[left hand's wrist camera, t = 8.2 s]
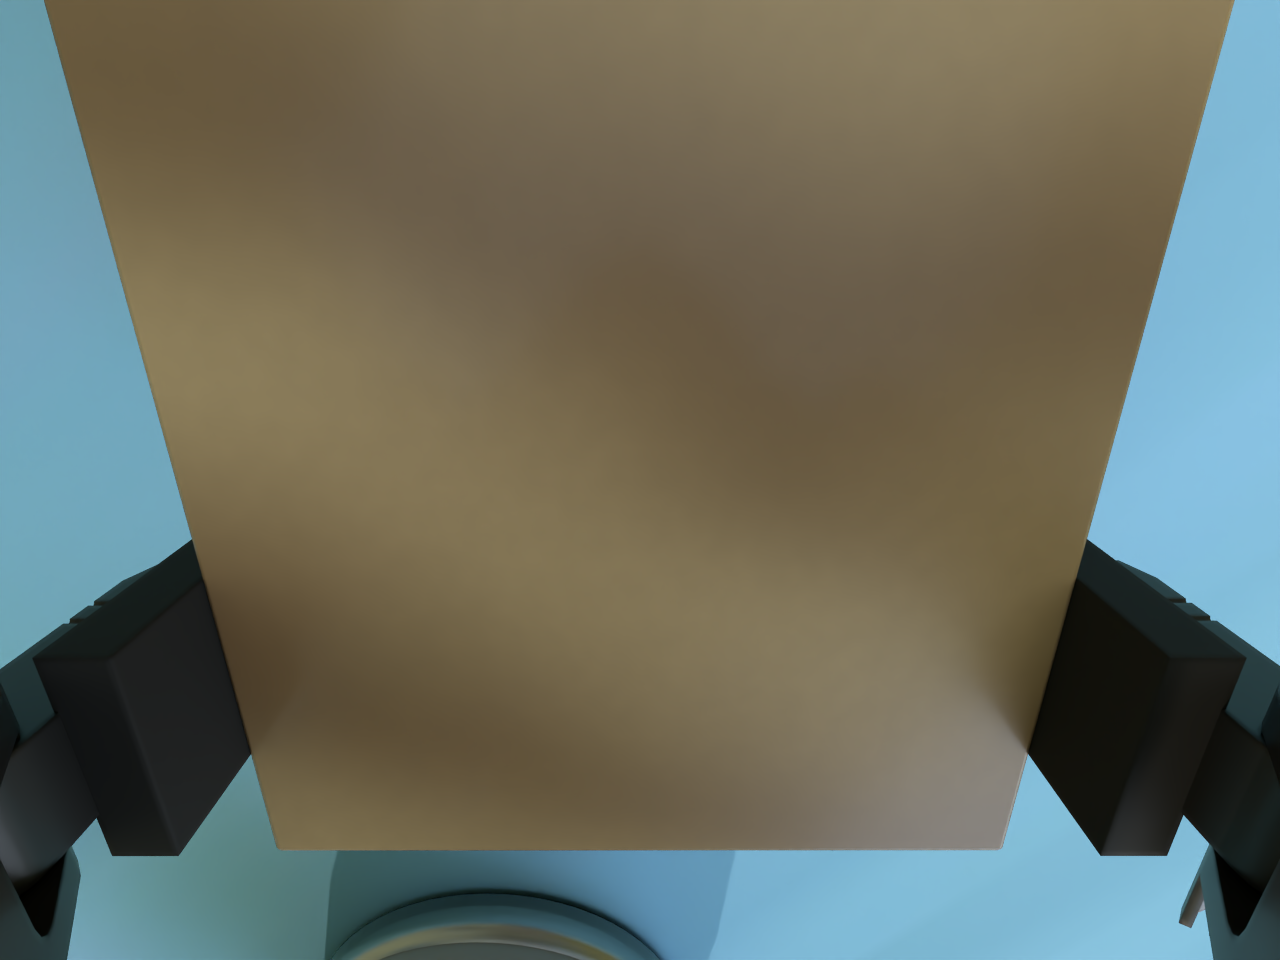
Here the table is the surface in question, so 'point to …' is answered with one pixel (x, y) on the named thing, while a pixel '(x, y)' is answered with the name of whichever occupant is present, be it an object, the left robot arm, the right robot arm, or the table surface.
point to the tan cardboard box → (639, 390)
